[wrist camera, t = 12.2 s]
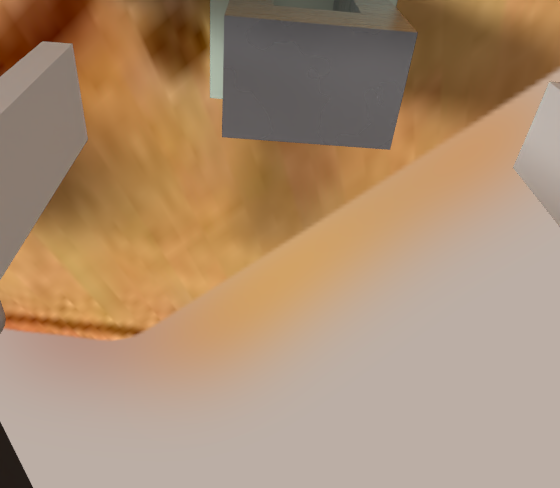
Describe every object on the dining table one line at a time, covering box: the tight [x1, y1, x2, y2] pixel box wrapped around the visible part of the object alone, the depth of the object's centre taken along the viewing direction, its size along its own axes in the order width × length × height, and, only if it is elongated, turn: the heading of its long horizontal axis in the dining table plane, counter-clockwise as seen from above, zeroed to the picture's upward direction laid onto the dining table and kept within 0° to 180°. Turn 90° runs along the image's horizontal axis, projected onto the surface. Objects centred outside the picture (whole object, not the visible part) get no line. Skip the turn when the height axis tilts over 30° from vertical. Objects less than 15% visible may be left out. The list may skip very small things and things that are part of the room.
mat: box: [210, 0, 397, 99], centre depth 25 cm, size 9×9×1 cm
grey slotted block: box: [222, 0, 418, 150], centre depth 21 cm, size 4×6×10 cm, turn 85°
